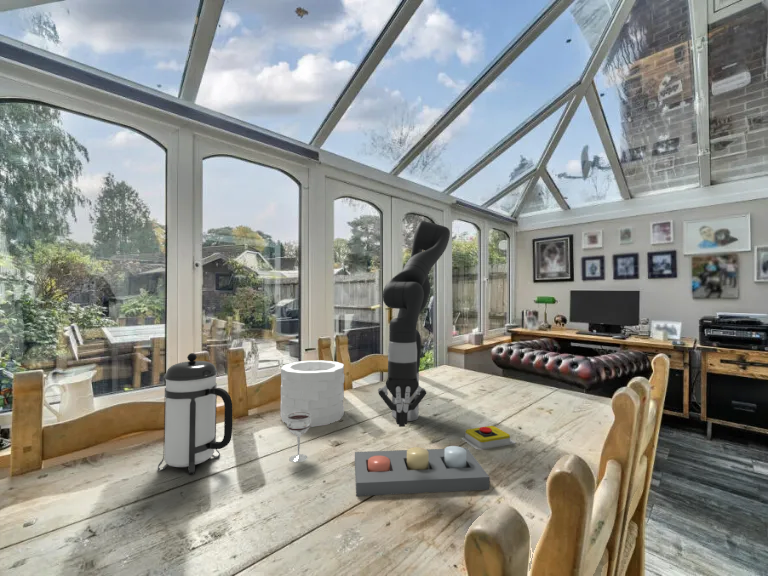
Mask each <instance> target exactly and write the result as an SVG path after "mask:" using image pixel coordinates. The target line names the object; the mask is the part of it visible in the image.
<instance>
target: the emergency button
mask: <svg viewBox="0 0 768 576" xmlns="http://www.w3.org/2000/svg"><path fill="white" fill-rule="evenodd" d="M464 434H465V437H464V436H463V437H462V438H463V439H462V438H461V440H462V441H463V440H465V441H464V442H465V443H466V442H467V443H466V444H467V445H469V446H470V447H472V448H473V447H474V449H475V450H478V451H480V450H487V449H493V448H499V447H503V446H504V447H505V446H509V445H515V444H516V443H517V442H516V441H515V440H513V439H511V435H510V434H509V433H508V432H505V431H504V430H502V429H500V428H498V427H496V426H494V425H487V426H481V427H480V426H479V427H473V428H467V429H466V430H465V433H464Z"/></svg>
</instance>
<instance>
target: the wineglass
mask: <svg viewBox="0 0 768 576" xmlns="http://www.w3.org/2000/svg"><path fill="white" fill-rule="evenodd" d="M310 416H311V414H310V413H308V412H294V413H291V414H289V415H287V418H288V421H287V423H286V428H287V431H289V432H290V434H291V435H292V434H293V435H294V436H296V439H297V442H296V443H297V454H294V455H291V456H290V457H289V461H290V462H292V463H302V462H305V461H306V460H307V459H308V456H307V455H306V454H303V453H302V454H301V453H300V449H301V448H300V447H301V445H300V444H301V436H302V435H303V434H305V433H307V432H308V430H309V429H310V428H311V427H310V425H311V419H310Z"/></svg>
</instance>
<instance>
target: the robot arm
mask: <svg viewBox="0 0 768 576" xmlns="http://www.w3.org/2000/svg"><path fill="white" fill-rule="evenodd" d="M413 235H414V236H413V241H412V248H411V253H410V258H409V259H408V260H407V262H406V263H405V265H404V266H403V268H402V270H401V271H400V272H398V273H396V275H395V276H393V277H391V279H390V280H389V281H388V282H387V283H386V284H385V286H384V288H383V291H382V301H383V303H384V304H385V305H384V306H386V307H387V308H390V309H398V313H397V317H395V318H392V319H391V320H390V321H389V332H388V333H389V334H388V335H389V337H388V338H389V339H388V340H389V341H388V349H387V380H386V382H385V385H384V386H383V387H381V388H378V389H377V391H378V395H379V397H380V398H381V399H382V401H383V402H384V403H385V404H386V406H387V407H388V408H389V410H390V411H391V417H393V418H394V419H395V423H396V425H398V427H400V428H402V427H403V428H404V427H406V425H407V424H408V422H411V421H416V420H418V419H419V408H420V407H419V404H420V403H421V401H422V400H423V399H424V398H425V396H426V395H427V391H426V389H425V388H424V387H422V386H420V385H419V384H420V383H419V381H420V364H421V349H422V337H421V333H420V331H419V330H418V329H417V326H418V320H419V317H420V314H421V312H422V311H423V310H424V309H425V308H426V305H427V304H428V300H429V298H430V297H429V296H430V293H431V283H430V278H429V277H428V275H429V273H430V271H431V270H432V268H433V267H434V266H435V264H436V263H437V262H438V260H439V259H440V258H441V257H442V256H443V254H444V253H445V251H446V249H447V247H448V244H449V240H450V236H451V230H450V229H449V227H446V226H444V225H442V224H438V223H433V222H430V221H426V220H421V221H419V222H418V224H417V225H416V228H415V232H414V234H413ZM388 391H389V392H388ZM389 393H390V394H391V396H392V397H391V399H392V400H391V399H390V397H389Z"/></svg>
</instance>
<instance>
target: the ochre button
mask: <svg viewBox="0 0 768 576" xmlns="http://www.w3.org/2000/svg"><path fill="white" fill-rule="evenodd" d="M406 450H407V470H427V469H428V459H429V452H428V451H427V450H426V448H423V447H421V446H420V447H419V446H414V447H409V448H408V449H406Z"/></svg>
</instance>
